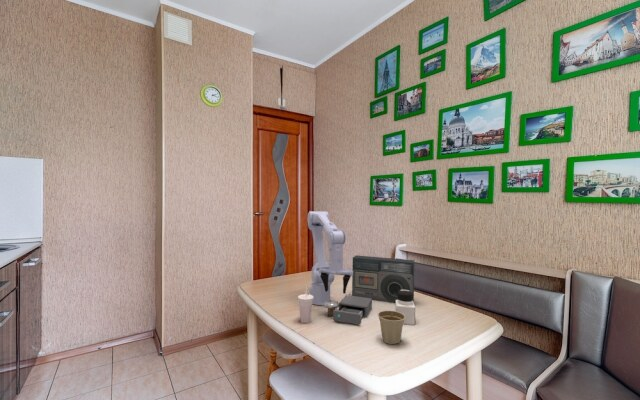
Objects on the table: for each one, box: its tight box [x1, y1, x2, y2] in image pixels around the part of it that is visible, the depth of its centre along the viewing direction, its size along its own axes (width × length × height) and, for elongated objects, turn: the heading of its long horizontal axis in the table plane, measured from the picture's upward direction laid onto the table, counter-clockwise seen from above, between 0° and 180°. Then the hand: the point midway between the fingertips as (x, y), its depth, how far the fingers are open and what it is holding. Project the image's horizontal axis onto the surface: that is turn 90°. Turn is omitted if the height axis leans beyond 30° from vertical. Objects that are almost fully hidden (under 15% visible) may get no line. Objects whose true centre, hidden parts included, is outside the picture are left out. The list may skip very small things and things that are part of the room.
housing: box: [338, 294, 373, 319], centre depth 127 cm, size 12×12×4 cm
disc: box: [324, 299, 339, 309], centre depth 122 cm, size 6×6×2 cm
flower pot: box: [377, 310, 405, 345], centre depth 101 cm, size 9×9×9 cm
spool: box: [327, 308, 337, 318], centre depth 122 cm, size 3×3×4 cm
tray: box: [332, 306, 364, 325], centre depth 119 cm, size 12×11×4 cm
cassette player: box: [351, 254, 415, 304], centre depth 143 cm, size 29×7×20 cm, turn 68°
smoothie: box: [297, 285, 314, 324], centre depth 116 cm, size 6×6×14 cm
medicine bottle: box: [394, 290, 416, 326], centre depth 118 cm, size 7×7×12 cm
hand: (335, 291), depth 122 cm, fingers open, 7 cm apart
